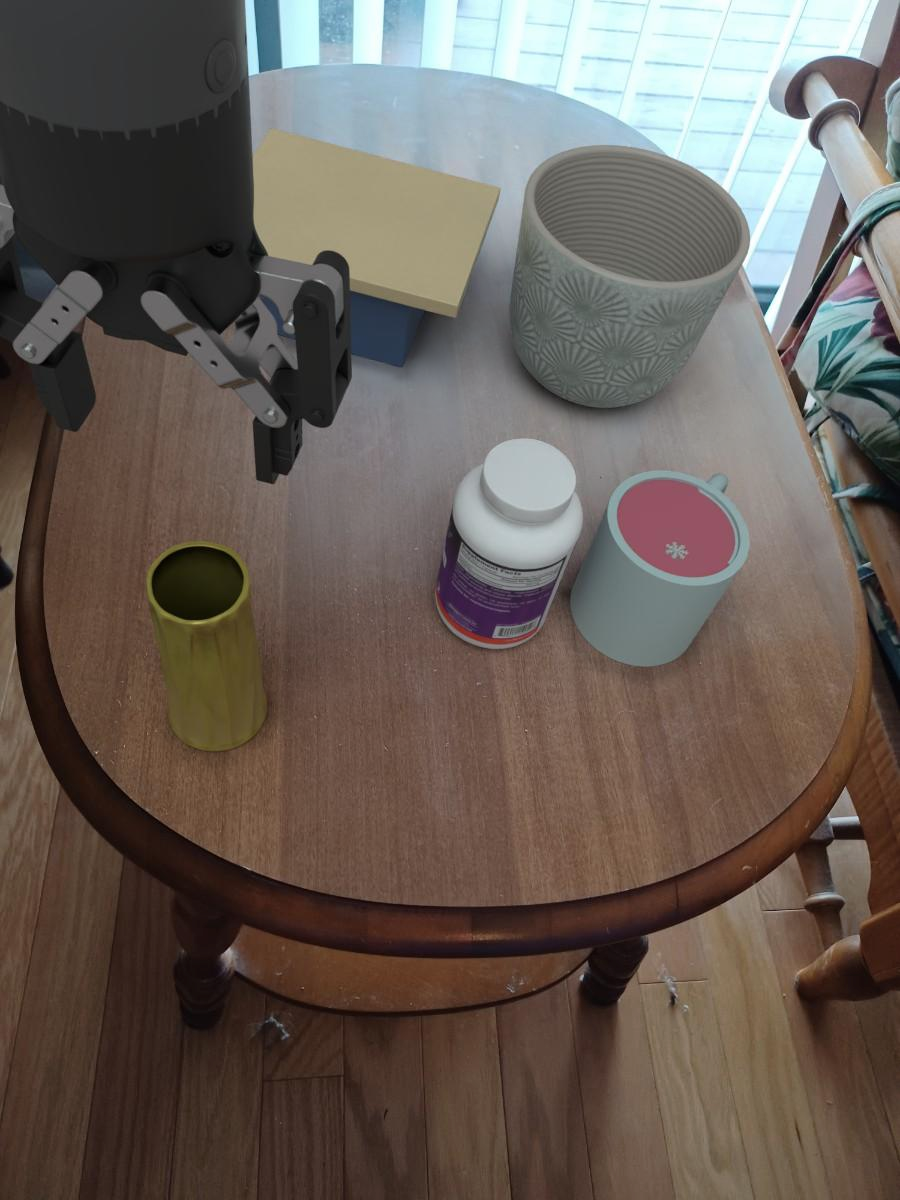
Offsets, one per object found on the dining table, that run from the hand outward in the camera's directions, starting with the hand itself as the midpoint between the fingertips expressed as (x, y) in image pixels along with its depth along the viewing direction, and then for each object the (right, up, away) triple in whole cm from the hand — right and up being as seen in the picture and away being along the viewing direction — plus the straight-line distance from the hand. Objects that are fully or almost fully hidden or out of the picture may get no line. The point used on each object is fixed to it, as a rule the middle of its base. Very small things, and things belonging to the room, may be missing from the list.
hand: (175, 442), depth 40 cm
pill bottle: (+14, -7, +27) cm, 32 cm away
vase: (-3, -14, +20) cm, 25 cm away
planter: (+23, +13, +43) cm, 50 cm away
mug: (+26, -6, +30) cm, 40 cm away
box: (+3, +19, +43) cm, 47 cm away
